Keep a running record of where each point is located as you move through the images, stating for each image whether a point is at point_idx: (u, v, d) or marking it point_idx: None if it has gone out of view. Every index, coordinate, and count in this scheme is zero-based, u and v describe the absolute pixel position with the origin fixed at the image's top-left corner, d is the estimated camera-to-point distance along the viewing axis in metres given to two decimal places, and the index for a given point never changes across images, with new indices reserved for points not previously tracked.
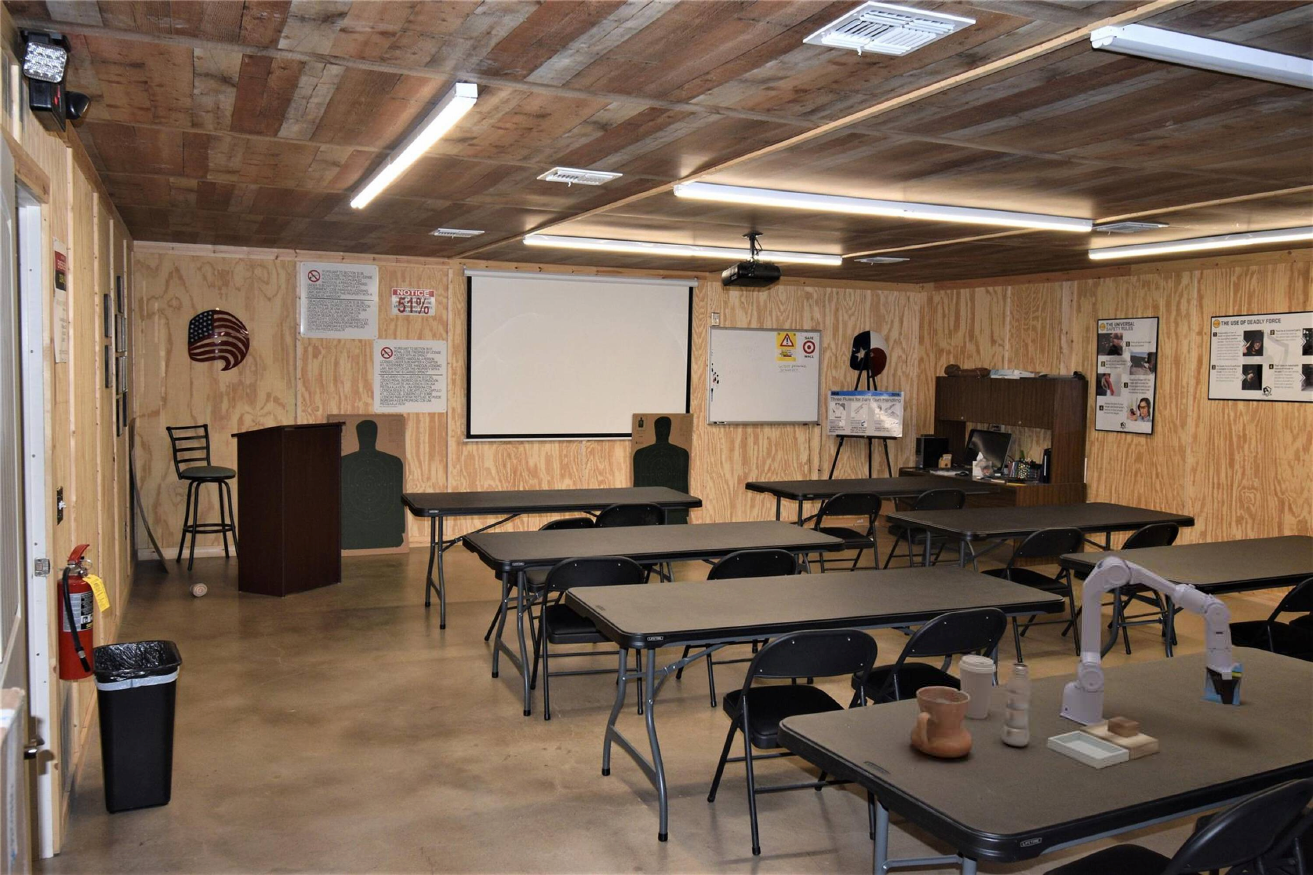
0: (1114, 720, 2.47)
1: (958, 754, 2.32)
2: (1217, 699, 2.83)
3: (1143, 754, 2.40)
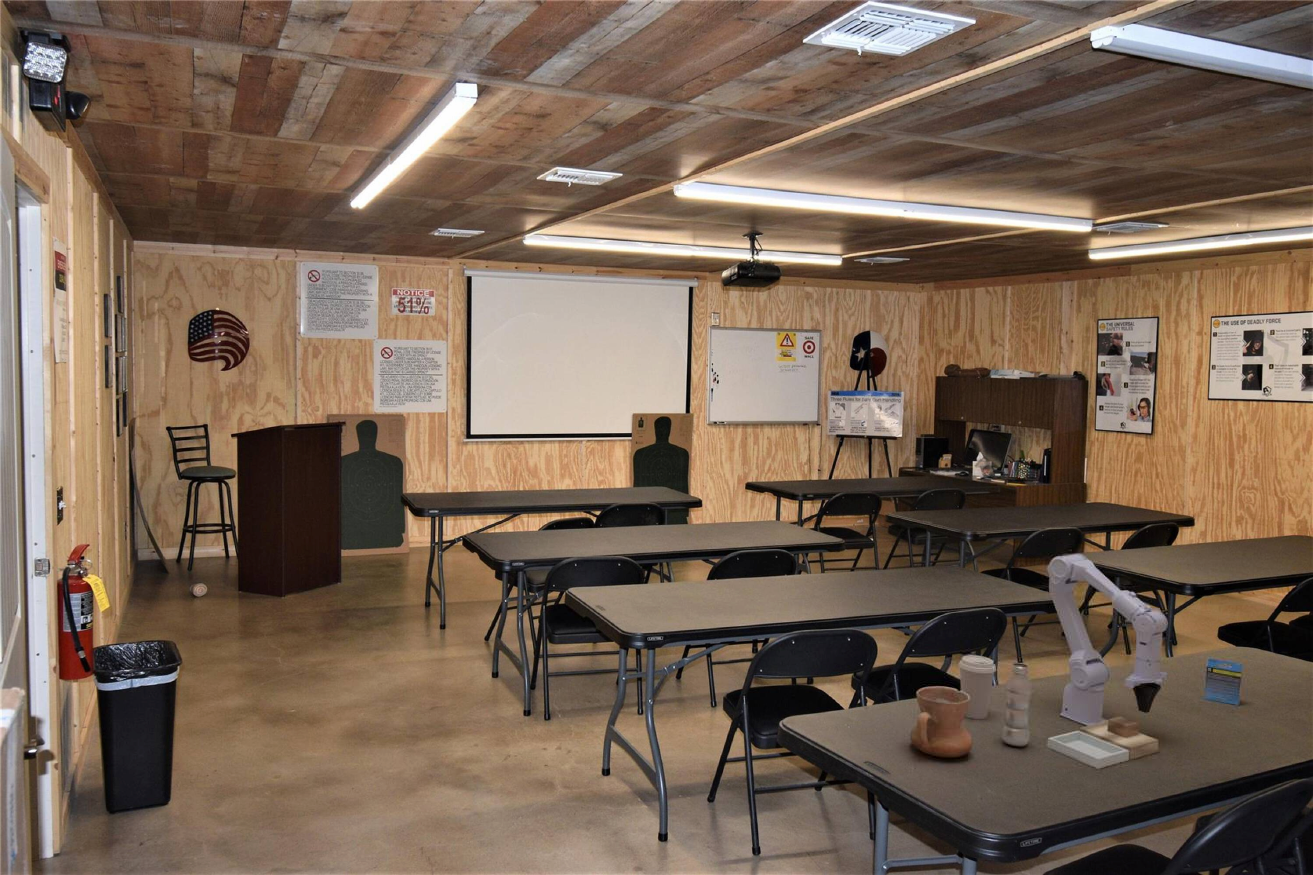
0: (1114, 720, 2.47)
1: (958, 754, 2.32)
2: (1217, 699, 2.83)
3: (1143, 754, 2.40)
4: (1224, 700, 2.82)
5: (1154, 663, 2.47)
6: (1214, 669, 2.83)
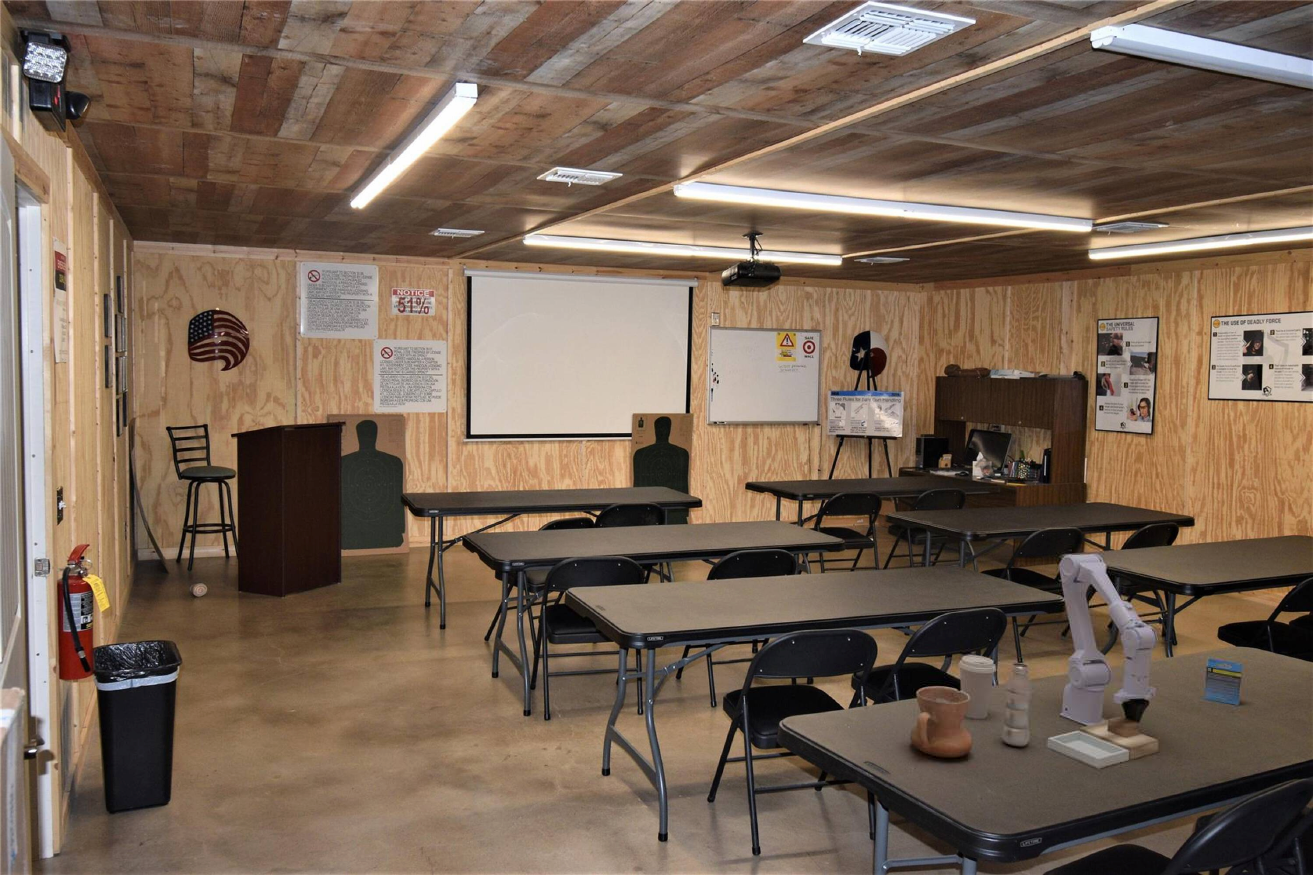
0: (1114, 720, 2.47)
1: (958, 754, 2.32)
2: (1217, 699, 2.83)
3: (1143, 754, 2.40)
4: (1224, 700, 2.82)
5: (1143, 679, 2.45)
6: (1214, 669, 2.83)
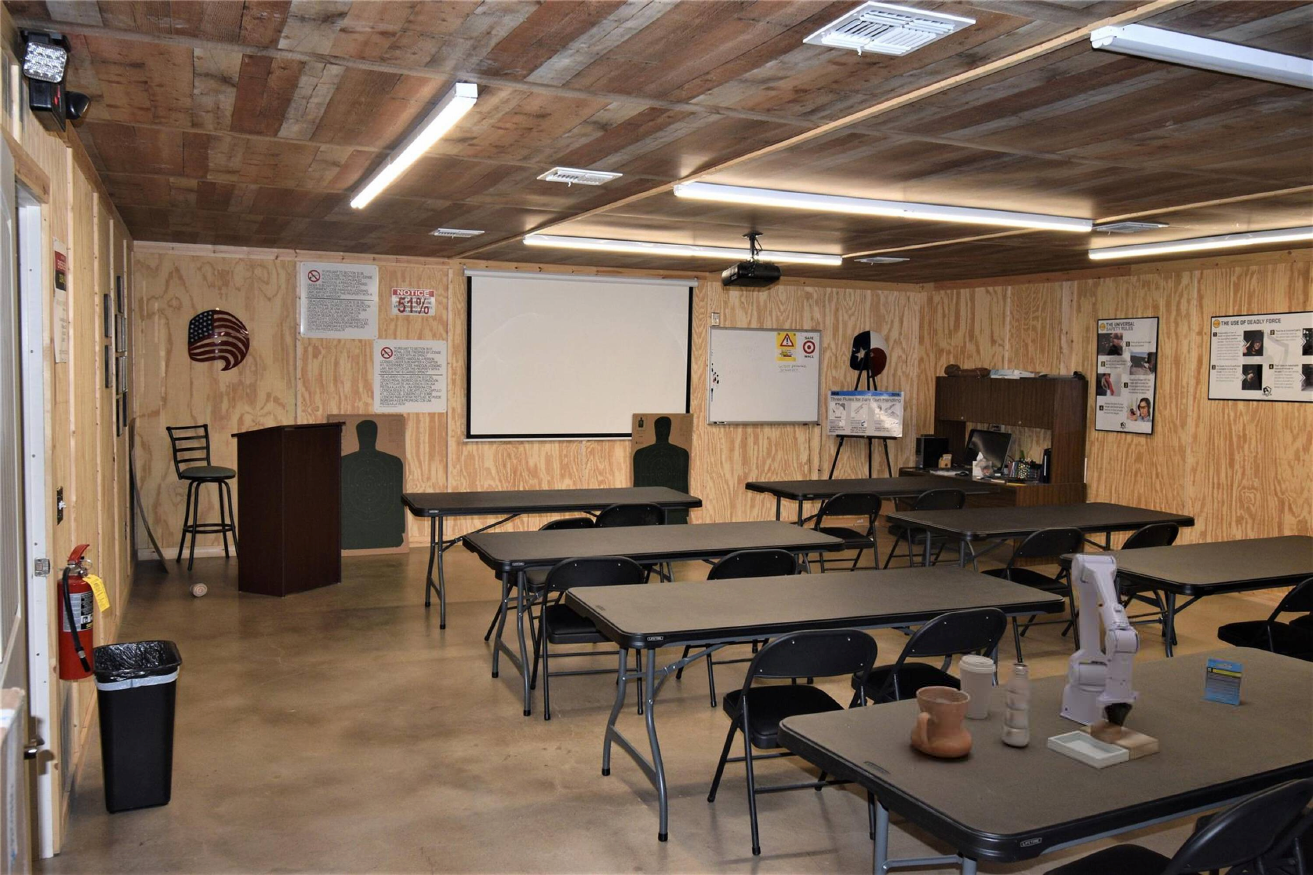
0: (1097, 725, 2.44)
1: (958, 754, 2.32)
2: (1217, 699, 2.83)
3: (1143, 754, 2.40)
4: (1224, 700, 2.82)
5: (1125, 682, 2.41)
6: (1214, 669, 2.83)
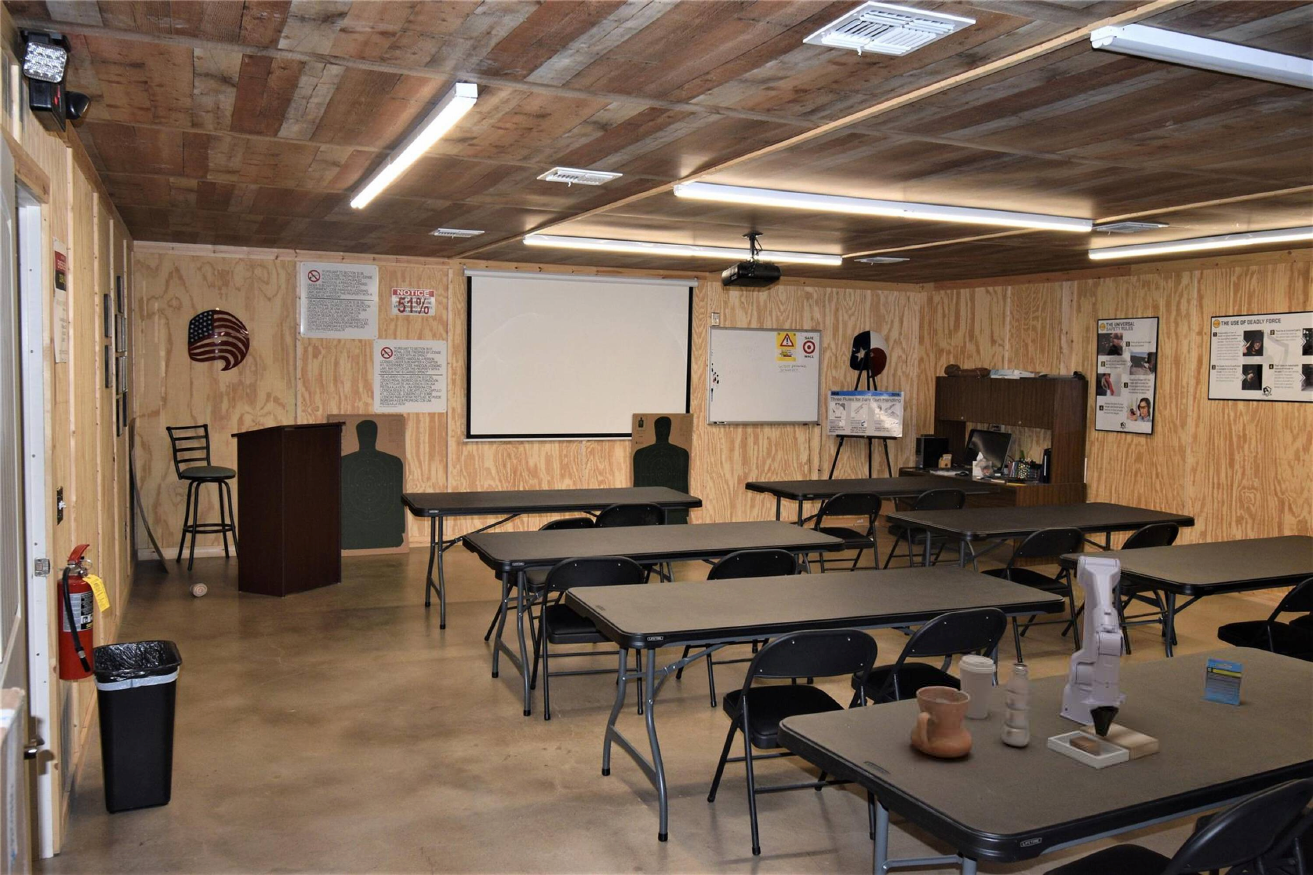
0: None
1: (958, 754, 2.32)
2: (1217, 699, 2.83)
3: (1143, 754, 2.40)
4: (1224, 700, 2.82)
5: (1111, 685, 2.39)
6: (1214, 669, 2.83)
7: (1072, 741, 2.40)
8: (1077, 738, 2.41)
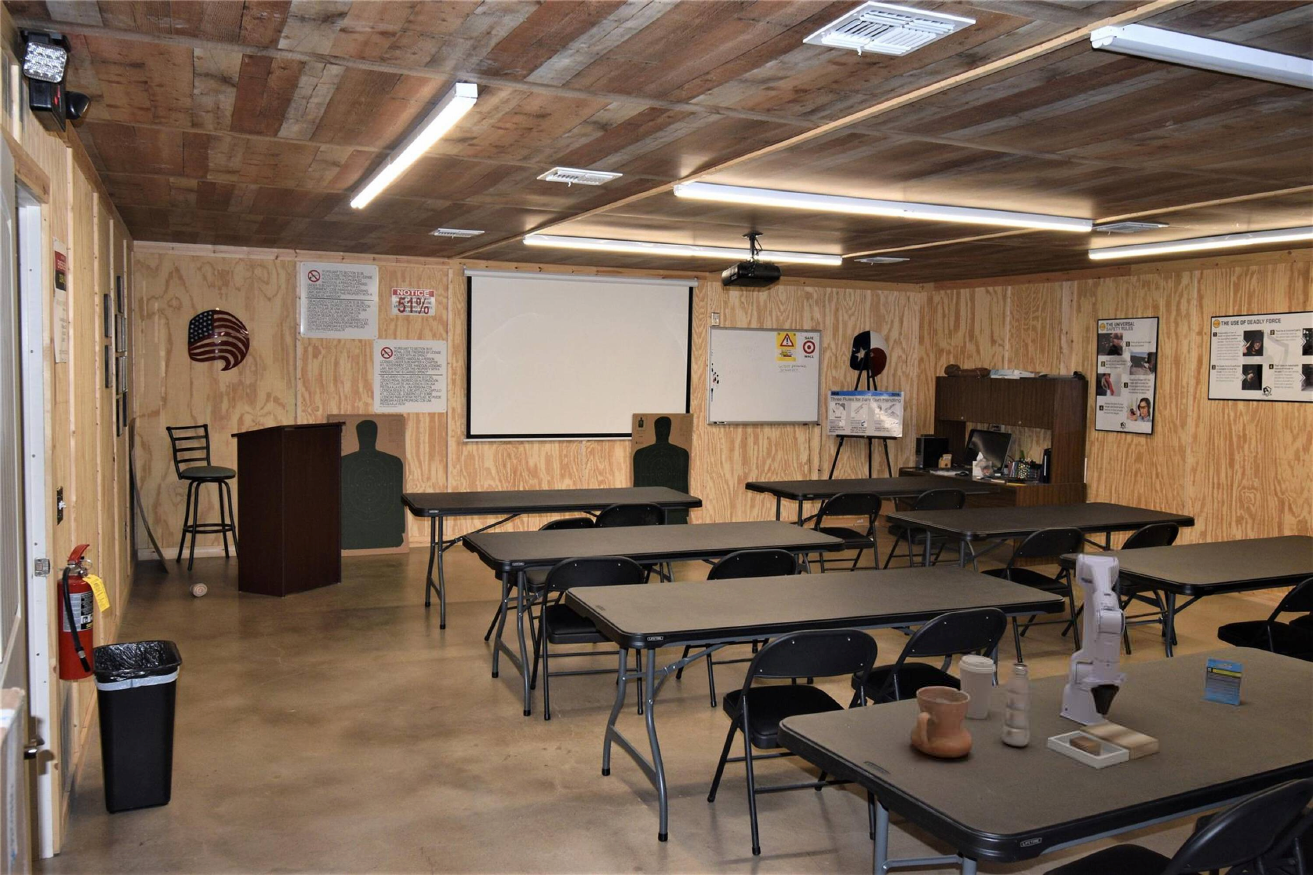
0: None
1: (958, 754, 2.32)
2: (1217, 699, 2.83)
3: (1143, 754, 2.40)
4: (1224, 700, 2.82)
5: (1112, 664, 2.38)
6: (1214, 669, 2.83)
7: (1072, 741, 2.40)
8: (1077, 738, 2.41)
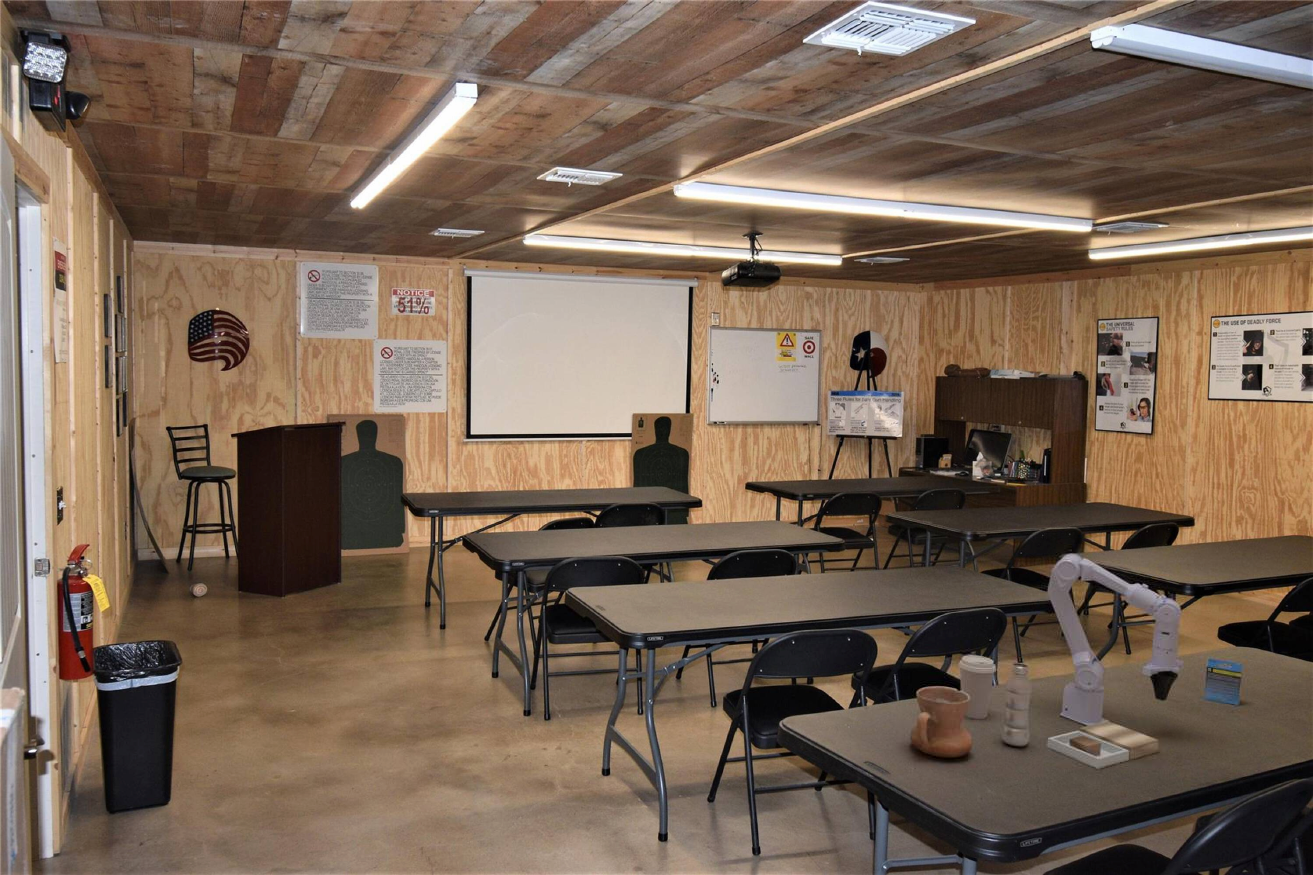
0: None
1: (958, 754, 2.32)
2: (1217, 699, 2.83)
3: (1143, 754, 2.40)
4: (1224, 700, 2.82)
5: (1171, 651, 2.50)
6: (1214, 669, 2.83)
7: (1072, 741, 2.40)
8: (1077, 738, 2.41)
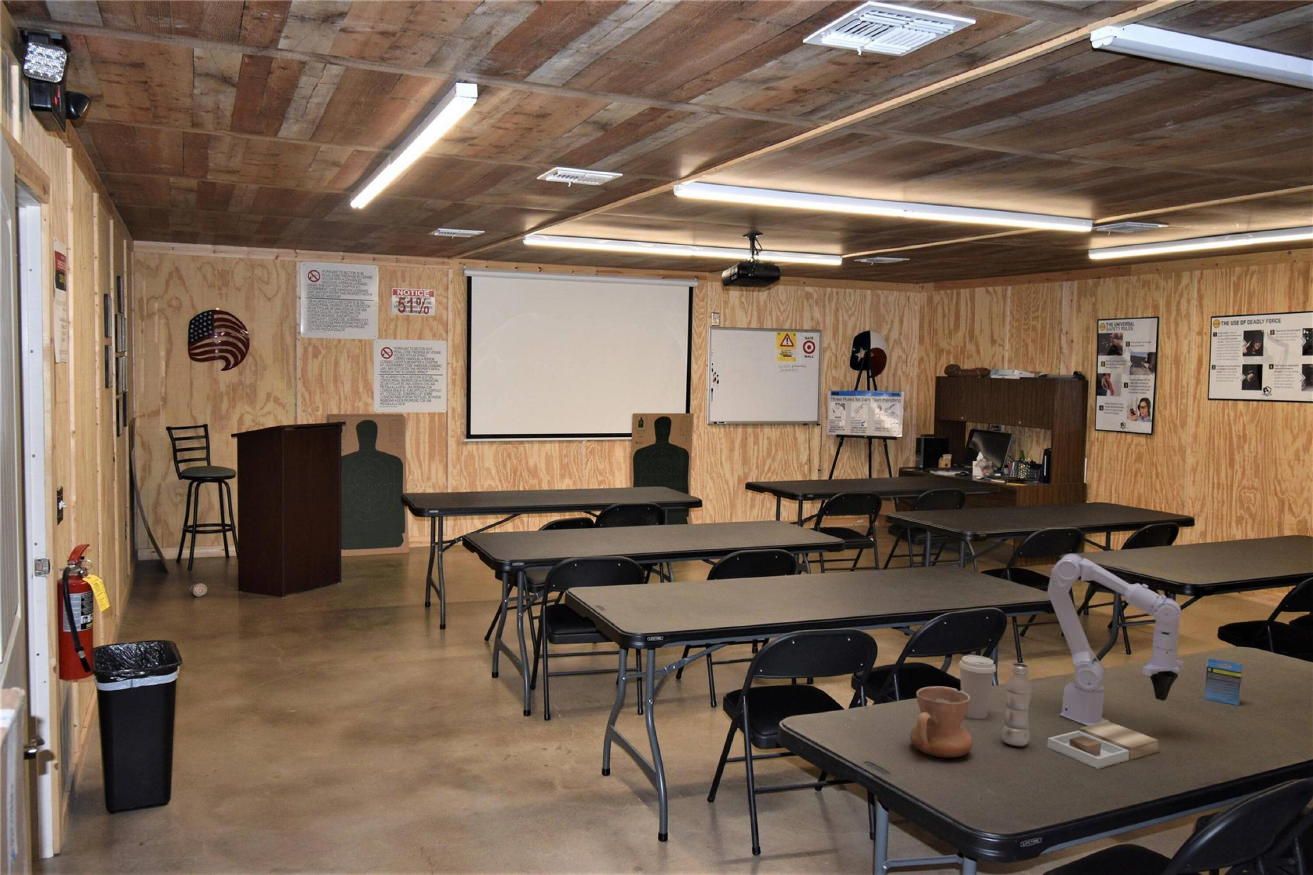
0: None
1: (958, 754, 2.32)
2: (1217, 699, 2.83)
3: (1143, 754, 2.40)
4: (1224, 700, 2.82)
5: (1171, 651, 2.50)
6: (1214, 669, 2.83)
7: (1072, 741, 2.40)
8: (1077, 738, 2.41)
